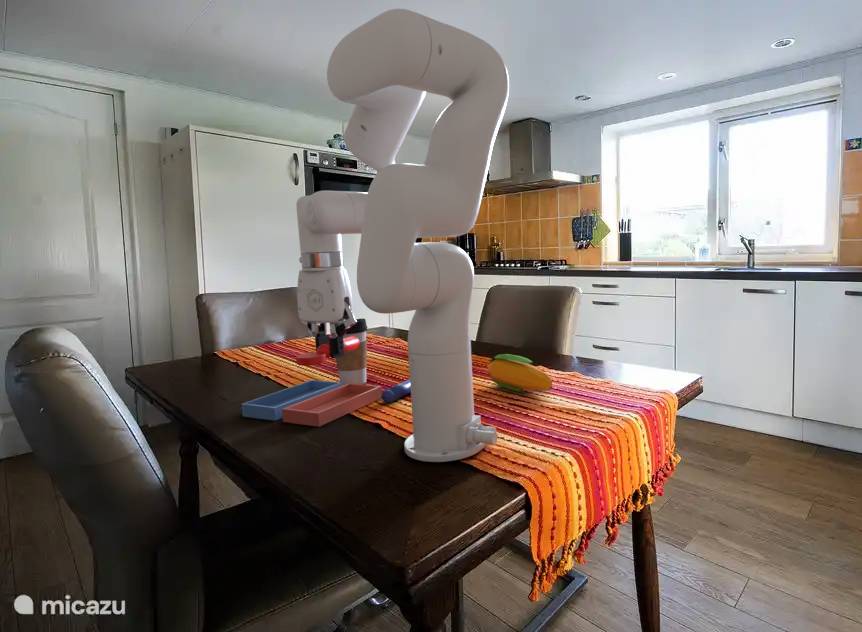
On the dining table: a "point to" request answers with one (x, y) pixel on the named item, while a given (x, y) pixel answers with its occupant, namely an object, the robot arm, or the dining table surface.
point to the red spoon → (325, 352)
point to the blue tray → (285, 399)
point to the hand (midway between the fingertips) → (330, 355)
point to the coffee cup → (354, 356)
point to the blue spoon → (396, 392)
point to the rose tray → (331, 404)
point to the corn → (518, 374)
